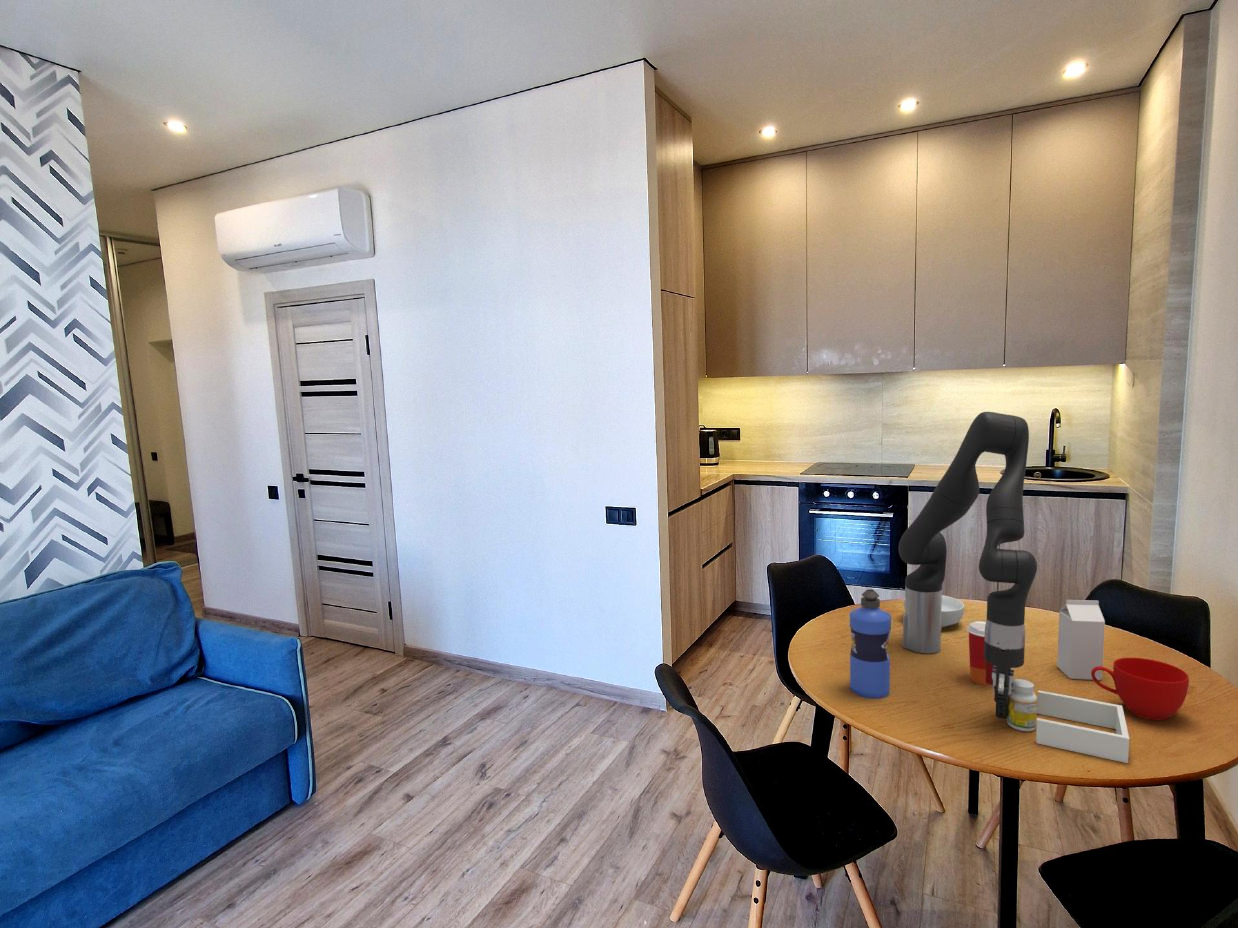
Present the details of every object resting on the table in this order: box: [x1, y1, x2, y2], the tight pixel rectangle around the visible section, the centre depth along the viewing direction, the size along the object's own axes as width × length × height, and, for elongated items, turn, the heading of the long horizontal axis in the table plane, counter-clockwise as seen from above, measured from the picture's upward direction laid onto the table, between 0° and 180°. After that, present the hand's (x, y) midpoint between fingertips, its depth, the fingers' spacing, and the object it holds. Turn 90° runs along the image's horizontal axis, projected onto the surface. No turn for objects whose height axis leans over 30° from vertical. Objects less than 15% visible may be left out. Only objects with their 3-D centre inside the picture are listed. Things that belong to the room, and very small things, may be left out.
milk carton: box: [1056, 599, 1106, 681], centre depth 165 cm, size 7×7×19 cm
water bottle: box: [849, 588, 892, 700], centre depth 160 cm, size 9×9×25 cm
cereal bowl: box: [903, 594, 965, 629], centre depth 203 cm, size 17×17×7 cm
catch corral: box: [1035, 690, 1130, 764], centre depth 138 cm, size 15×15×5 cm
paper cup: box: [966, 620, 995, 687], centre depth 164 cm, size 8×8×14 cm
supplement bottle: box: [1006, 678, 1038, 732], centre depth 142 cm, size 5×5×10 cm
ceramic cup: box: [1091, 657, 1190, 721], centre depth 147 cm, size 13×17×10 cm
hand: (1001, 716), depth 145 cm, fingers closed
